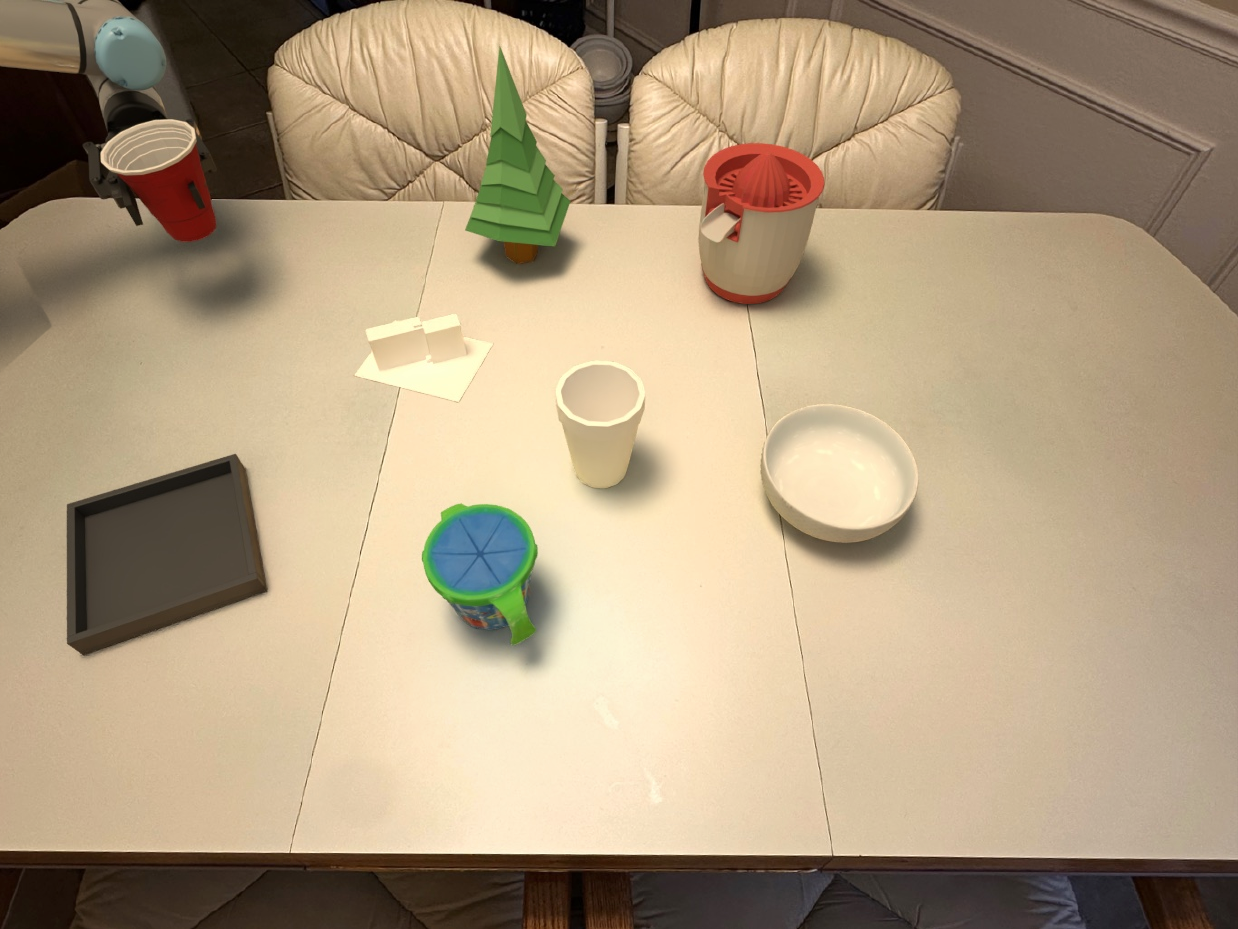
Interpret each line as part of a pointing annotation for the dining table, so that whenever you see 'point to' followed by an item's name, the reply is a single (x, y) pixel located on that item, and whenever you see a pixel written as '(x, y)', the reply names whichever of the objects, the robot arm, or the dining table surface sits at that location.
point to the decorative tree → (516, 181)
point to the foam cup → (600, 419)
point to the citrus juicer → (756, 219)
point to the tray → (160, 553)
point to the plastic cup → (164, 175)
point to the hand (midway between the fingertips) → (166, 206)
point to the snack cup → (483, 566)
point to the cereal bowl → (838, 472)
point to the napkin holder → (424, 356)
